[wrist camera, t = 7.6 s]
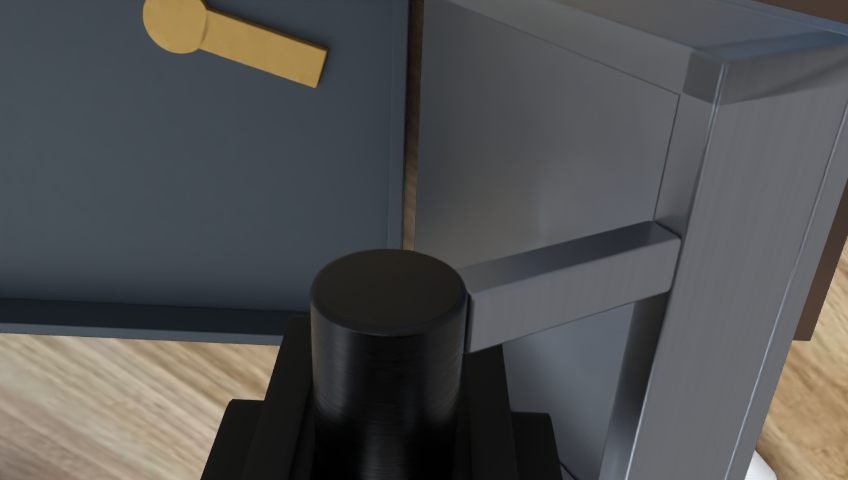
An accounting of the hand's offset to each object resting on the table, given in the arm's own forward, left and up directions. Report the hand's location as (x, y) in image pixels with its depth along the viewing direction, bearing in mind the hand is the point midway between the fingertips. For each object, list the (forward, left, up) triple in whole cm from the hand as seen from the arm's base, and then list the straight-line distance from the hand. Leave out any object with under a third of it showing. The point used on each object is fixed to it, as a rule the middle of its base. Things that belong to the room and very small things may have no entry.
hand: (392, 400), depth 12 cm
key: (0, -7, -21) cm, 22 cm away
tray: (+5, -12, -21) cm, 25 cm away
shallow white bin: (0, +4, -5) cm, 6 cm away
